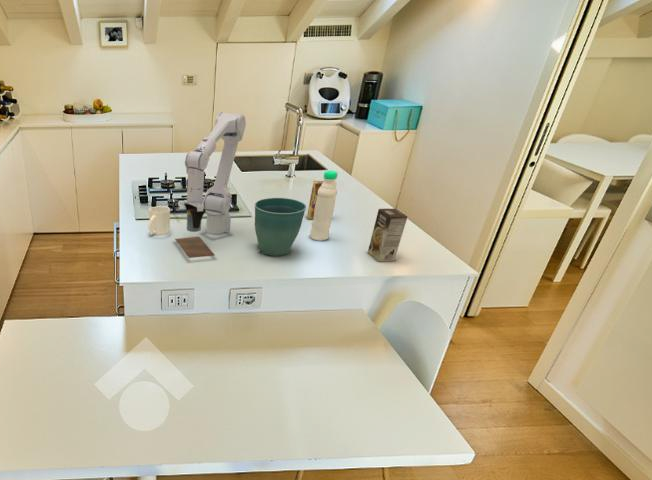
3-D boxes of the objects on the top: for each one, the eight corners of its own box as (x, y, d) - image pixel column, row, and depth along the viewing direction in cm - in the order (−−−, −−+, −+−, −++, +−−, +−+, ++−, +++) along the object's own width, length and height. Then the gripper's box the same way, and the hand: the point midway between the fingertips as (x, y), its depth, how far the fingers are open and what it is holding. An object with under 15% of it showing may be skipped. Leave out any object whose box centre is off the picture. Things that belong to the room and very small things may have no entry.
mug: (158, 242, 200) (158, 216, 194) (140, 238, 204) (140, 213, 197) (173, 233, 208) (173, 208, 202) (156, 229, 212) (156, 205, 206)
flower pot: (289, 263, 181) (296, 216, 171) (242, 254, 189) (246, 208, 179) (304, 247, 193) (312, 202, 183) (260, 239, 201) (265, 195, 191)
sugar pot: (195, 225, 194) (196, 205, 189) (204, 230, 190) (205, 209, 185) (183, 228, 191) (183, 208, 187) (192, 233, 187) (192, 212, 183)
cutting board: (174, 242, 200) (174, 238, 199) (199, 240, 201) (199, 236, 200) (188, 261, 184) (188, 257, 183) (214, 259, 185) (215, 255, 184)
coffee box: (366, 252, 188) (377, 208, 179) (383, 251, 189) (395, 207, 179) (377, 261, 181) (390, 216, 171) (395, 261, 181) (408, 215, 172)
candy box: (308, 219, 219) (314, 183, 210) (306, 216, 222) (312, 180, 213) (329, 219, 218) (336, 183, 209) (327, 216, 222) (334, 180, 213)
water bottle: (328, 235, 203) (341, 170, 188) (327, 241, 197) (341, 174, 183) (310, 234, 205) (321, 168, 190) (308, 240, 199) (320, 173, 185)
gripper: (179, 183, 187) (178, 219, 195) (190, 194, 175) (188, 232, 183) (197, 181, 188) (196, 218, 196) (209, 192, 176) (207, 230, 184)
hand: (193, 225), depth 190 cm, fingers closed on sugar pot, 5 cm apart
